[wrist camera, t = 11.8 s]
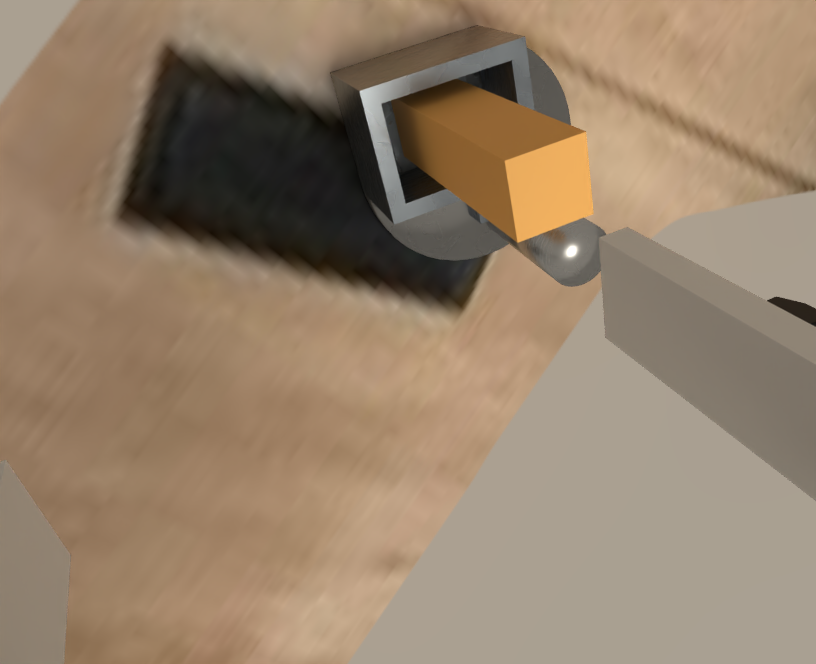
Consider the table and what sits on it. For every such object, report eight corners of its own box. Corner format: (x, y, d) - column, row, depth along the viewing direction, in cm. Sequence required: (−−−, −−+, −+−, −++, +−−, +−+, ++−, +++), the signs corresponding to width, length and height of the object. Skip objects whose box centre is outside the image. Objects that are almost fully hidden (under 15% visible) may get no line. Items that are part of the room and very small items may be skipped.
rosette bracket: (388, 281, 52) (445, 354, 42) (330, 72, 44) (384, 107, 34) (569, 212, 54) (660, 267, 45) (546, 3, 46) (651, 18, 37)
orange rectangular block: (403, 156, 46) (517, 242, 33) (389, 94, 44) (504, 160, 31) (459, 136, 47) (593, 213, 33) (448, 75, 45) (585, 131, 31)
